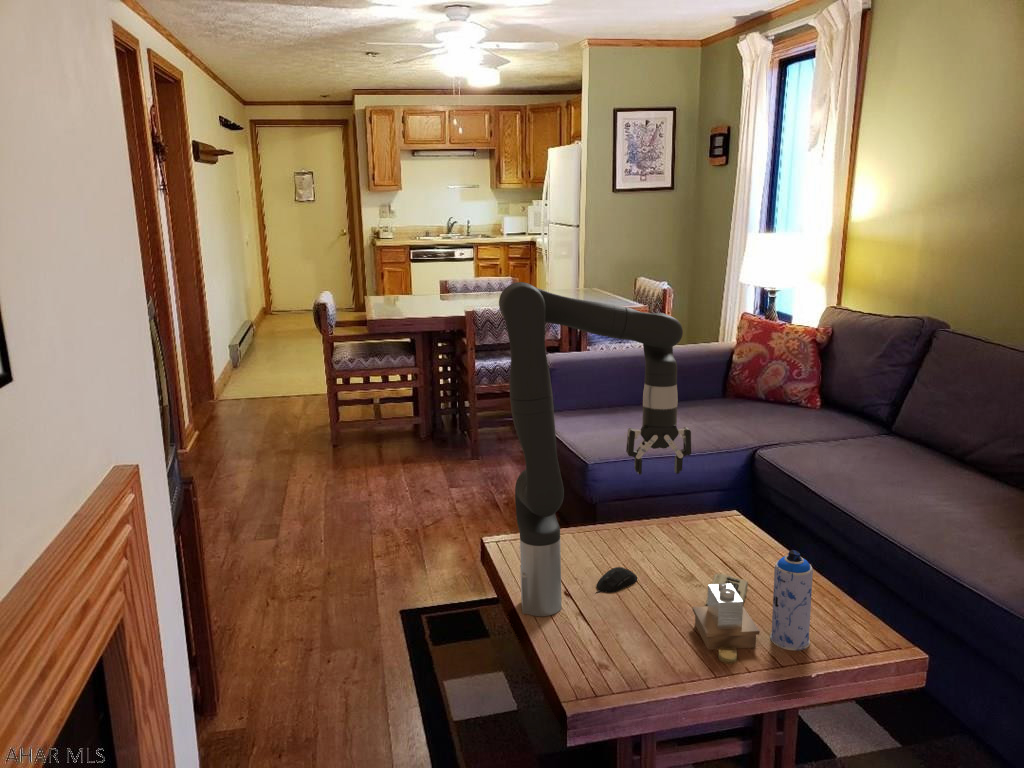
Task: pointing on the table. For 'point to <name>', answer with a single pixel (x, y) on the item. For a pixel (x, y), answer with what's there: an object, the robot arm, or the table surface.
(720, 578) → the computer
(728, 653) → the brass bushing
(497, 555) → the table surface
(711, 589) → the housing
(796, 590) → the aerosol can
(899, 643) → the table surface
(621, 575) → the gaming mouse
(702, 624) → the stand
